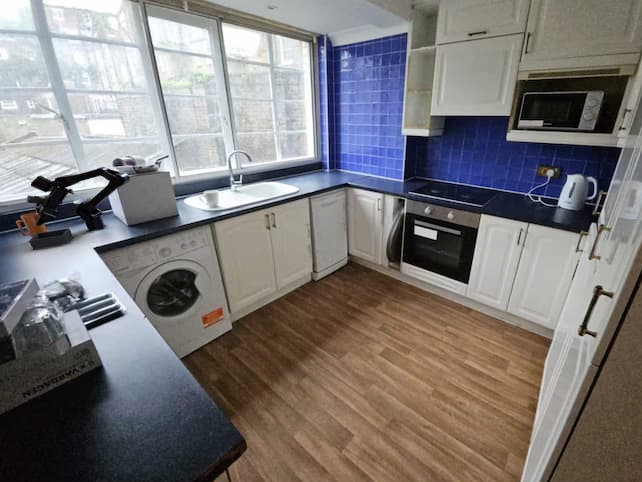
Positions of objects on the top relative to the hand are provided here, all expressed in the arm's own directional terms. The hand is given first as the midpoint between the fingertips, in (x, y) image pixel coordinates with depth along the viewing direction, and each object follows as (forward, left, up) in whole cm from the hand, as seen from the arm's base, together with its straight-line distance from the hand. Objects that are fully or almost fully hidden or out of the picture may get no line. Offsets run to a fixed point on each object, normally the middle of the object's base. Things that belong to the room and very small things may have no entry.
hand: (35, 223), depth 147 cm
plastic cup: (-17, -24, -8) cm, 30 cm away
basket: (-7, +11, -8) cm, 15 cm away
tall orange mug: (+2, 0, -8) cm, 8 cm away
